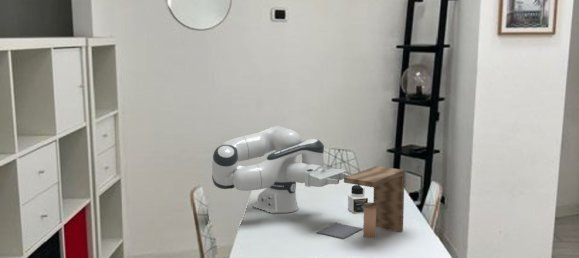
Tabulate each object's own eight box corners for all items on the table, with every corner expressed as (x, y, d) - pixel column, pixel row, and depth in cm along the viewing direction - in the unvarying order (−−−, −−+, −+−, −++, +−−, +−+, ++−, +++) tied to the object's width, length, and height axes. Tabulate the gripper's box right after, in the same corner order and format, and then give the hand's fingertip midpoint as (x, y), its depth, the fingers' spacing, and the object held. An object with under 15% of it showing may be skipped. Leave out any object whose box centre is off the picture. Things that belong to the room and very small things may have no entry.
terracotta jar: (360, 236, 232) (361, 204, 230) (367, 233, 236) (367, 201, 234) (372, 239, 228) (372, 206, 227) (378, 235, 233) (378, 203, 231)
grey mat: (316, 233, 236) (316, 231, 236) (336, 223, 248) (336, 222, 248) (343, 239, 229) (343, 237, 228) (362, 229, 240) (362, 228, 240)
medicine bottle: (353, 213, 263) (353, 188, 261) (347, 209, 270) (348, 184, 268) (367, 212, 265) (368, 187, 263) (361, 208, 272) (362, 183, 270)
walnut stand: (343, 241, 226) (343, 177, 222) (375, 225, 246) (376, 166, 242) (372, 248, 218) (373, 182, 214) (402, 230, 238) (404, 169, 234)
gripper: (330, 178, 253) (357, 182, 245) (302, 187, 237) (330, 192, 228) (330, 164, 252) (357, 168, 244) (302, 172, 236) (330, 176, 228)
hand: (344, 179), depth 236 cm, fingers open, 8 cm apart
